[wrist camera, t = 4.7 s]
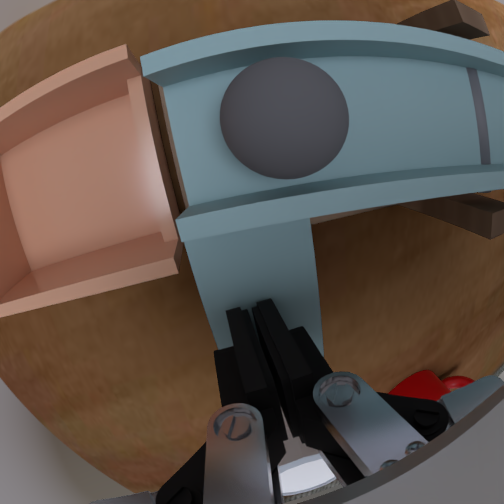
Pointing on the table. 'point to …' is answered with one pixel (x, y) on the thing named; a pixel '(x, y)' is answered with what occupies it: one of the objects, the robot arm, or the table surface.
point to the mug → (428, 385)
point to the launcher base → (444, 208)
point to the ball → (284, 118)
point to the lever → (343, 165)
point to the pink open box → (84, 186)
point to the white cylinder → (302, 467)
